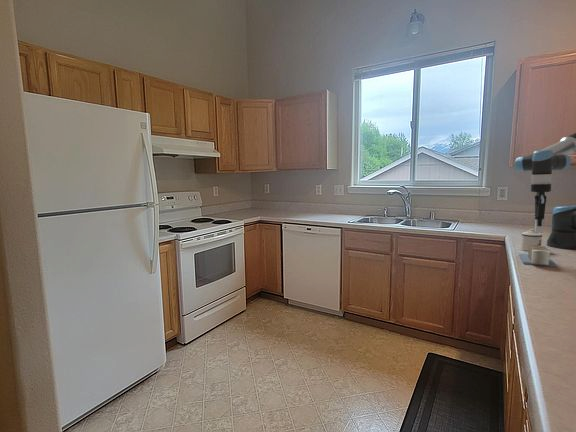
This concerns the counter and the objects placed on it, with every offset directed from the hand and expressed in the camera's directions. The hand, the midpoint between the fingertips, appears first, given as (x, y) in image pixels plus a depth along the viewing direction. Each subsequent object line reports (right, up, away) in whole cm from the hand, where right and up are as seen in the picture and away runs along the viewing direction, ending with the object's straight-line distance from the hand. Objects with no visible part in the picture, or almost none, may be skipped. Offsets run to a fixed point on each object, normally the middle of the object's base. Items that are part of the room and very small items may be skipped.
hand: (538, 232), depth 155 cm
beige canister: (0, -9, +1) cm, 9 cm away
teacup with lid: (+13, -11, +22) cm, 28 cm away
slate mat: (-2, -14, -1) cm, 14 cm away
